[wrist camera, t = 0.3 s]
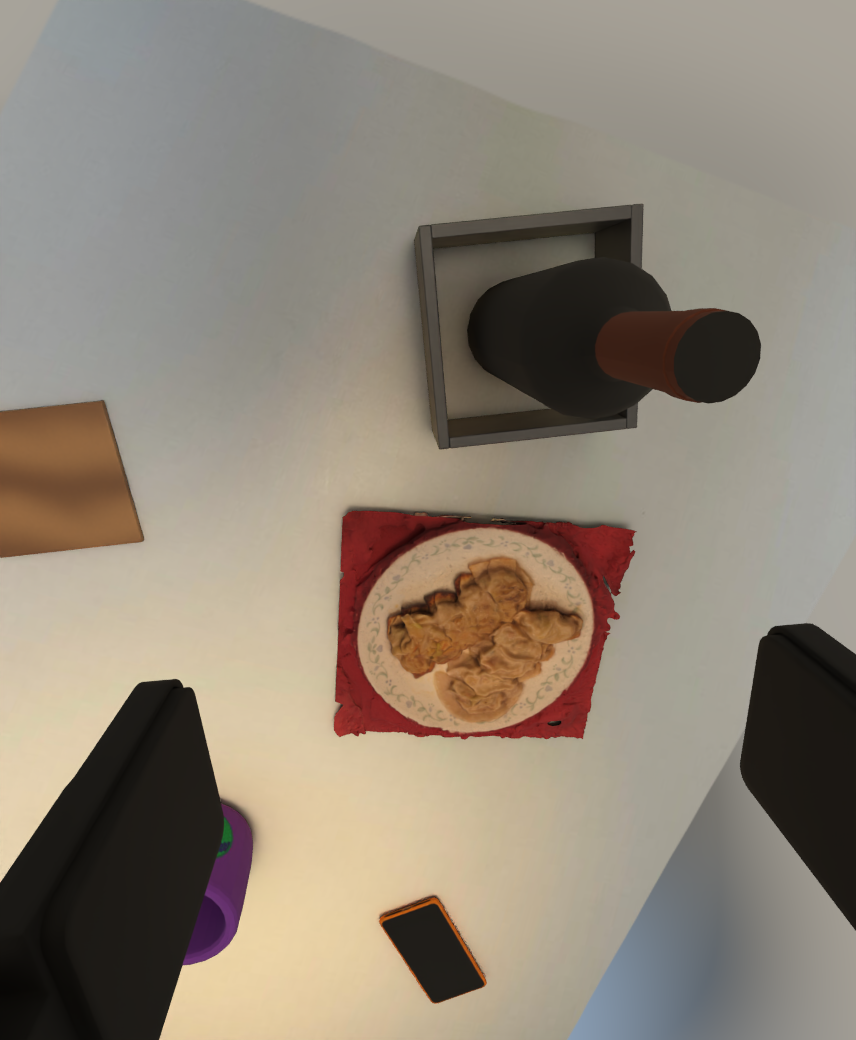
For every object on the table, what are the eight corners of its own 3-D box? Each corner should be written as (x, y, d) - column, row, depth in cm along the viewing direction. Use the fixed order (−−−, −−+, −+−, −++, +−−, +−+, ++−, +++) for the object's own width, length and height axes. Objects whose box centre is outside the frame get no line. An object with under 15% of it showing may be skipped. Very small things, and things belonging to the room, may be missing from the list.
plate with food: (344, 503, 50) (340, 517, 47) (631, 525, 52) (646, 539, 48) (334, 724, 58) (330, 749, 55) (581, 736, 60) (591, 761, 57)
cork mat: (-50, 416, 45) (-55, 417, 45) (104, 400, 46) (101, 401, 45) (3, 555, 49) (0, 558, 49) (144, 539, 50) (142, 541, 49)
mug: (273, 805, 60) (252, 895, 51) (243, 880, 64) (218, 978, 54) (104, 763, 57) (48, 851, 48) (81, 844, 61) (25, 942, 51)
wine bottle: (508, 257, 44) (724, 158, 16) (580, 321, 46) (887, 332, 18) (448, 340, 46) (545, 383, 18) (519, 398, 48) (711, 520, 19)
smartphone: (436, 893, 66) (437, 901, 65) (487, 978, 72) (488, 986, 71) (376, 916, 67) (376, 923, 66) (431, 998, 72) (432, 1006, 72)
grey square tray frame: (413, 239, 43) (418, 225, 37) (605, 219, 43) (644, 203, 37) (432, 430, 48) (439, 449, 42) (603, 412, 49) (637, 427, 42)
